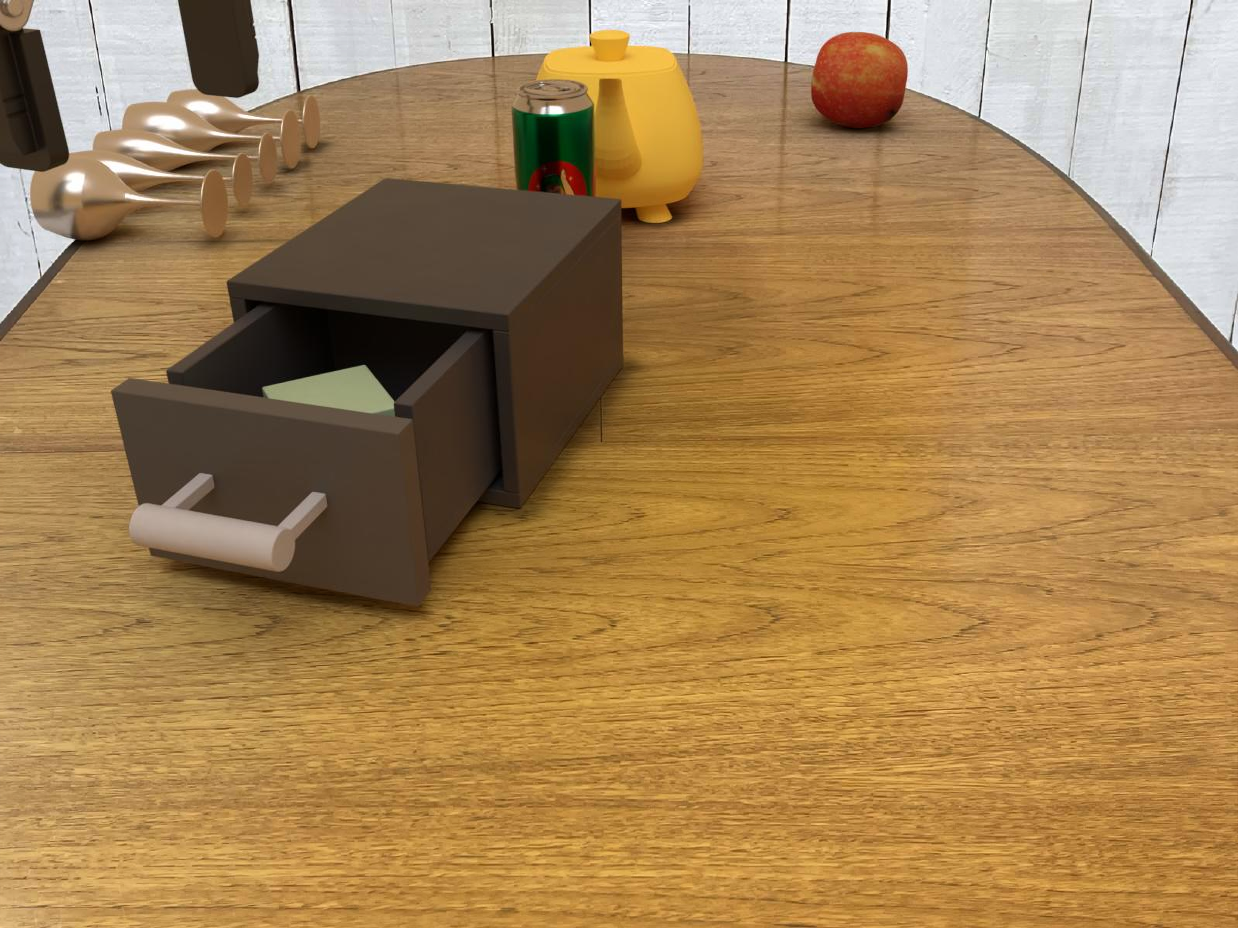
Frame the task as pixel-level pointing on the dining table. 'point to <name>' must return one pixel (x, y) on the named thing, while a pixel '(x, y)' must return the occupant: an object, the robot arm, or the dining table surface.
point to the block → (337, 391)
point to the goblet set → (163, 163)
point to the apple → (859, 79)
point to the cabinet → (476, 294)
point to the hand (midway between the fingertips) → (138, 127)
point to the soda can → (554, 138)
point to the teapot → (636, 120)
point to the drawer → (314, 451)
